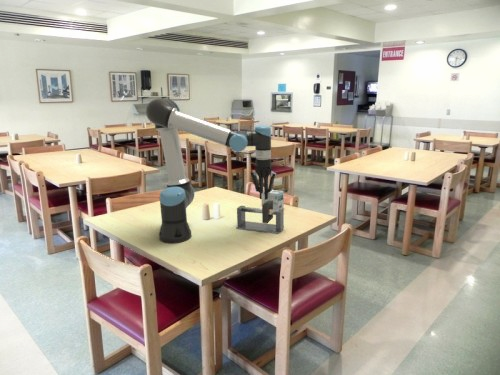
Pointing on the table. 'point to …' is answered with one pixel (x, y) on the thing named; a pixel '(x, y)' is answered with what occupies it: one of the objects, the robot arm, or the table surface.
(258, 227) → the pipe rig
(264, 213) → the ring
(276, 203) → the light bulb box
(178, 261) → the table surface
